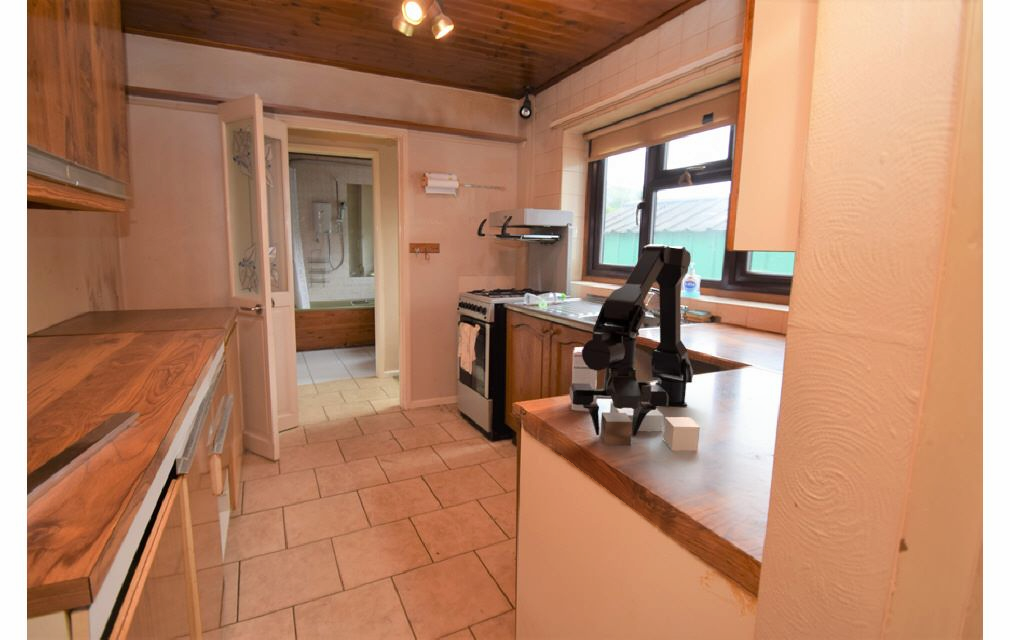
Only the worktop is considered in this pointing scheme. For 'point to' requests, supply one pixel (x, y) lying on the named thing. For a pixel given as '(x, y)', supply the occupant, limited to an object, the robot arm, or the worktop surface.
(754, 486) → the worktop surface
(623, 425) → the walnut cube
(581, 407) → the syrup box
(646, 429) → the base block
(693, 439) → the cream cube
